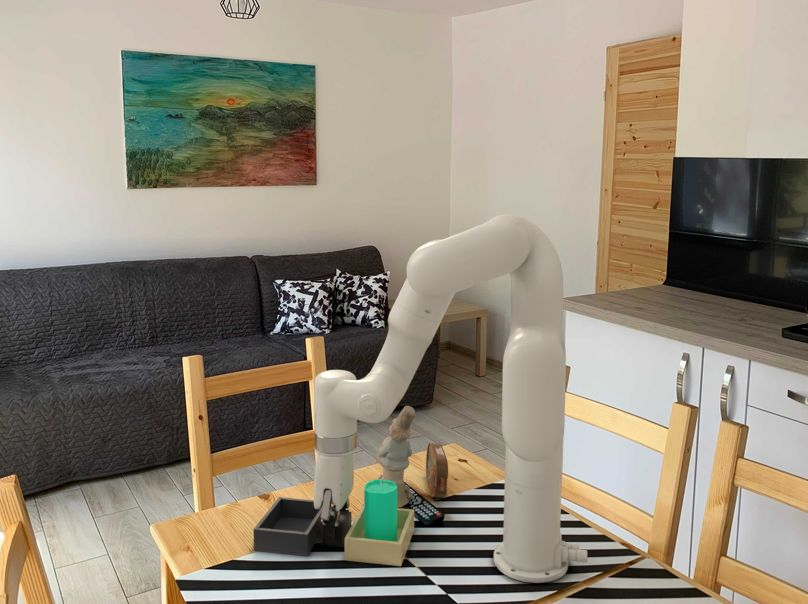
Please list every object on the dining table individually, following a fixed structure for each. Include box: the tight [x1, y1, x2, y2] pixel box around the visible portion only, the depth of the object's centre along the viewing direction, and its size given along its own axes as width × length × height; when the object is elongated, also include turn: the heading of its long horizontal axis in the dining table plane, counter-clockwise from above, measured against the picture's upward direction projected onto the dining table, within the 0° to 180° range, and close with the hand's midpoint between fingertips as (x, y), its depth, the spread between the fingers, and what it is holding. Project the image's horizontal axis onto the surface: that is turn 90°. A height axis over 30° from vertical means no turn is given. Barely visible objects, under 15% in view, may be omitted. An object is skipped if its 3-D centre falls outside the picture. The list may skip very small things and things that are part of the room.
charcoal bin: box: [253, 496, 323, 557], centre depth 130 cm, size 10×12×4 cm
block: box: [320, 511, 353, 549], centre depth 128 cm, size 4×4×4 cm
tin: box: [425, 442, 449, 498], centre depth 149 cm, size 15×3×8 cm, turn 6°
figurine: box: [375, 405, 416, 508], centre depth 143 cm, size 9×8×20 cm
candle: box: [363, 478, 397, 542], centre depth 126 cm, size 6×6×12 cm
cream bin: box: [344, 504, 415, 567], centre depth 127 cm, size 10×12×4 cm
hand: (336, 536), depth 129 cm, fingers closed on block, 4 cm apart
